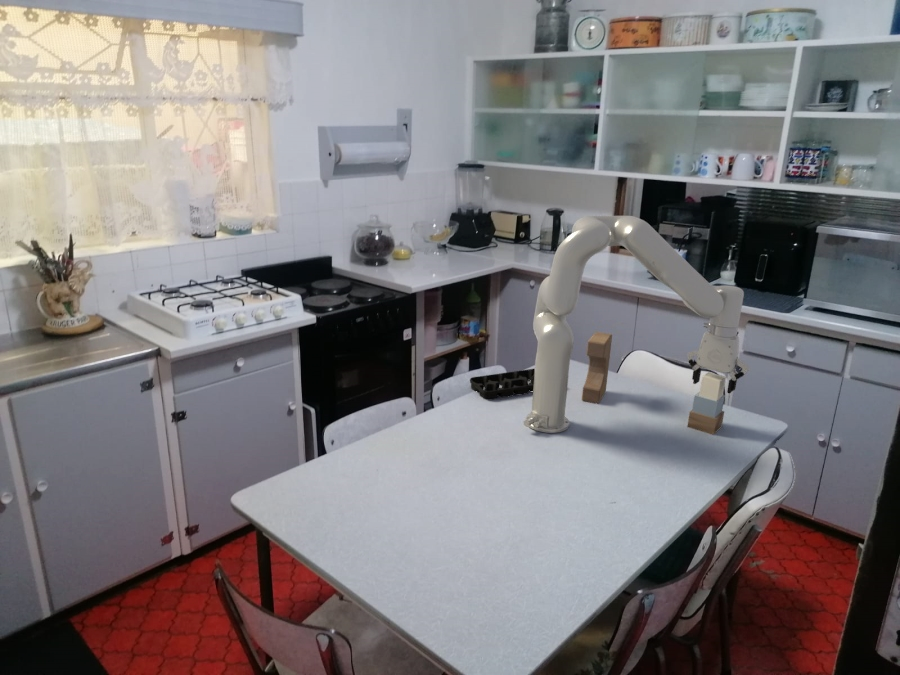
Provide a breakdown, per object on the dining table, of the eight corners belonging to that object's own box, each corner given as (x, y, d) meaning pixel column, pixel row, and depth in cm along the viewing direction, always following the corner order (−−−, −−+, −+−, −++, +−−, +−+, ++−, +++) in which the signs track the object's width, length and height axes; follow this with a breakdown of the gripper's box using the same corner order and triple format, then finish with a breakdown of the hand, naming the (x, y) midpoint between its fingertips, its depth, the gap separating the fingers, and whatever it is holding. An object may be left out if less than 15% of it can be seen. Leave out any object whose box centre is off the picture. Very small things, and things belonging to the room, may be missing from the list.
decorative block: (598, 404, 203) (605, 343, 197) (580, 400, 205) (586, 340, 199) (606, 392, 213) (613, 334, 207) (589, 389, 215) (595, 331, 209)
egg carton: (566, 388, 216) (567, 378, 215) (497, 408, 199) (497, 397, 198) (530, 372, 229) (531, 362, 228) (462, 389, 212) (463, 379, 211)
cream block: (716, 401, 184) (720, 381, 182) (699, 396, 187) (702, 376, 185) (722, 395, 187) (726, 376, 186) (705, 391, 190) (708, 372, 189)
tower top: (714, 418, 185) (717, 401, 183) (691, 411, 189) (694, 395, 187) (722, 411, 190) (724, 395, 188) (699, 404, 193) (702, 389, 192)
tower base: (713, 435, 185) (715, 419, 184) (687, 427, 190) (689, 411, 188) (721, 426, 191) (724, 411, 189) (696, 419, 195) (698, 404, 194)
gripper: (686, 326, 183) (678, 382, 189) (750, 340, 173) (739, 399, 178) (696, 321, 189) (688, 376, 194) (759, 334, 178) (748, 392, 184)
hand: (712, 387), depth 186 cm, fingers open, 9 cm apart
